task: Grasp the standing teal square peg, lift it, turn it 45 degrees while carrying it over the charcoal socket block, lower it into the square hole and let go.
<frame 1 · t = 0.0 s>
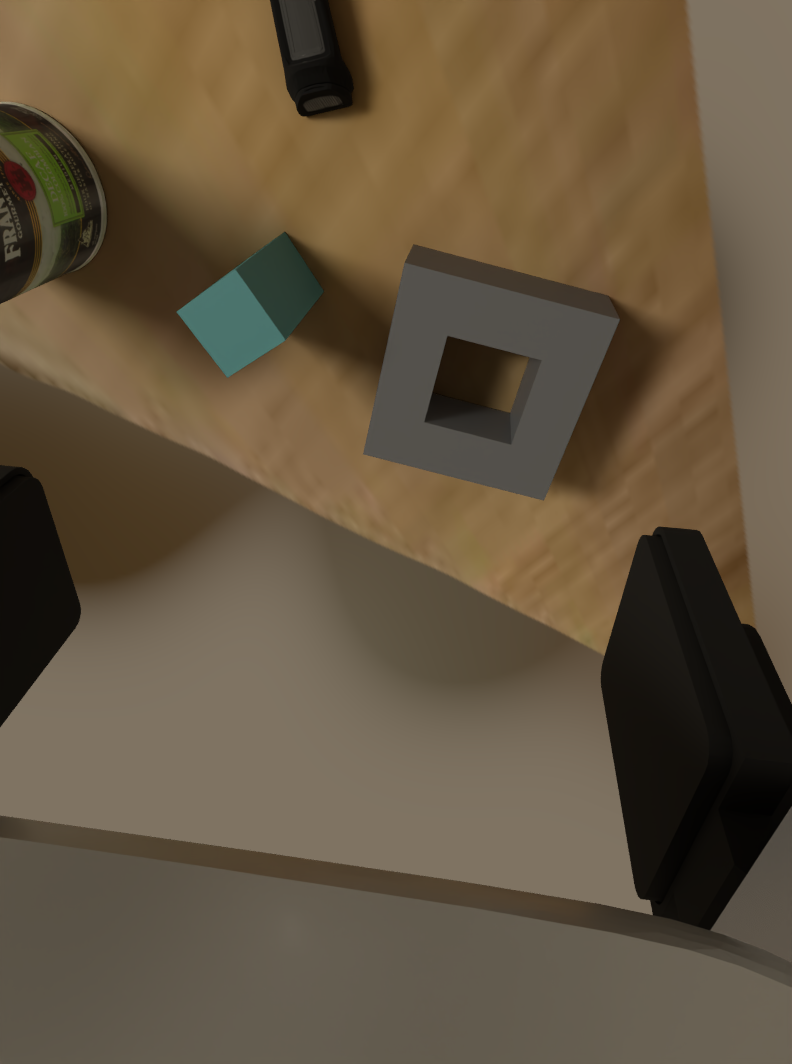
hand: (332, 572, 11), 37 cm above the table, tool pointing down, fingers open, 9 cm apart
peg: (279, 279, 45), on the table
socket: (482, 364, 47), on the table
coffee can: (33, 192, 44), on the table
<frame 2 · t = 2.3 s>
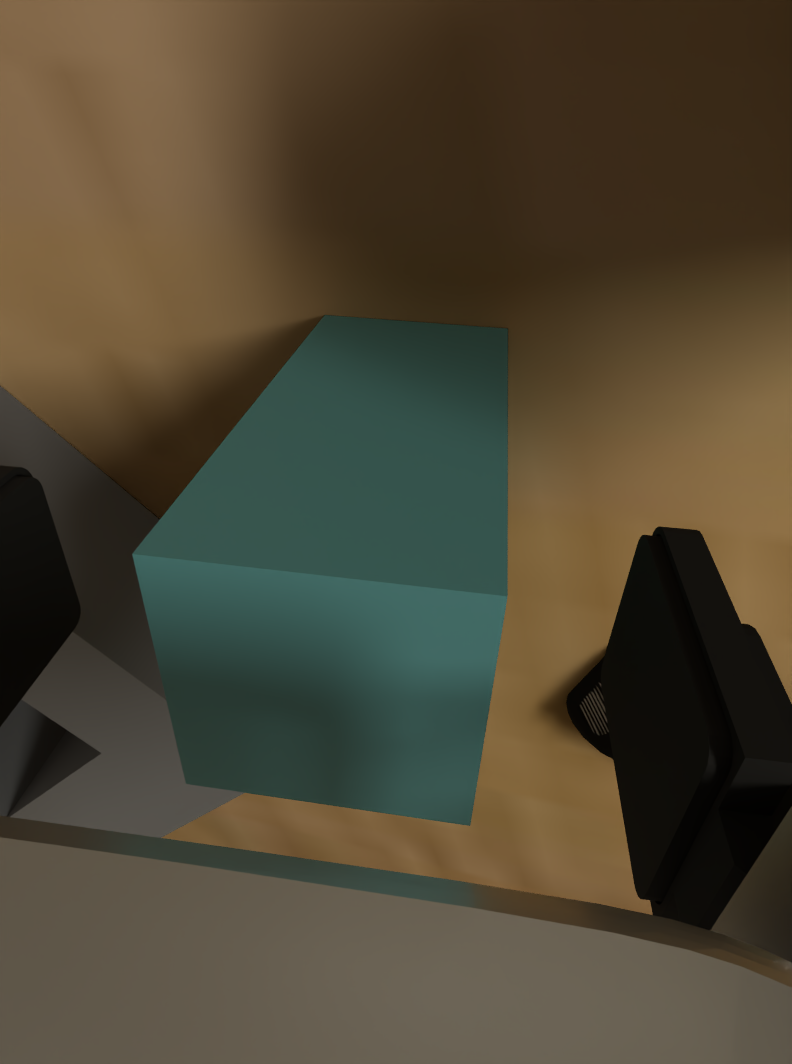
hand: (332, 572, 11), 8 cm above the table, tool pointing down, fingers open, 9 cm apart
peg: (410, 407, 17), on the table
socket: (58, 618, 23), on the table
electric trimmer: (781, 742, 22), on the table
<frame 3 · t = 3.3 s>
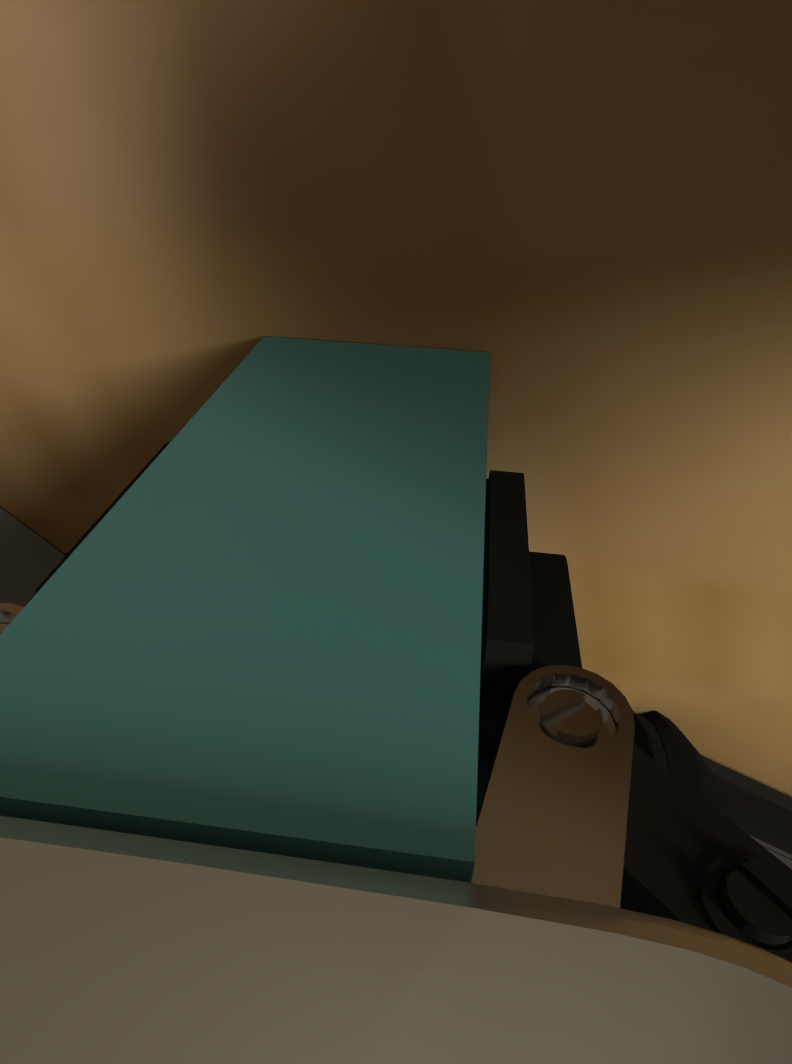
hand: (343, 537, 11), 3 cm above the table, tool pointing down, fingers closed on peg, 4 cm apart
peg: (374, 446, 14), on the table, touching gripper
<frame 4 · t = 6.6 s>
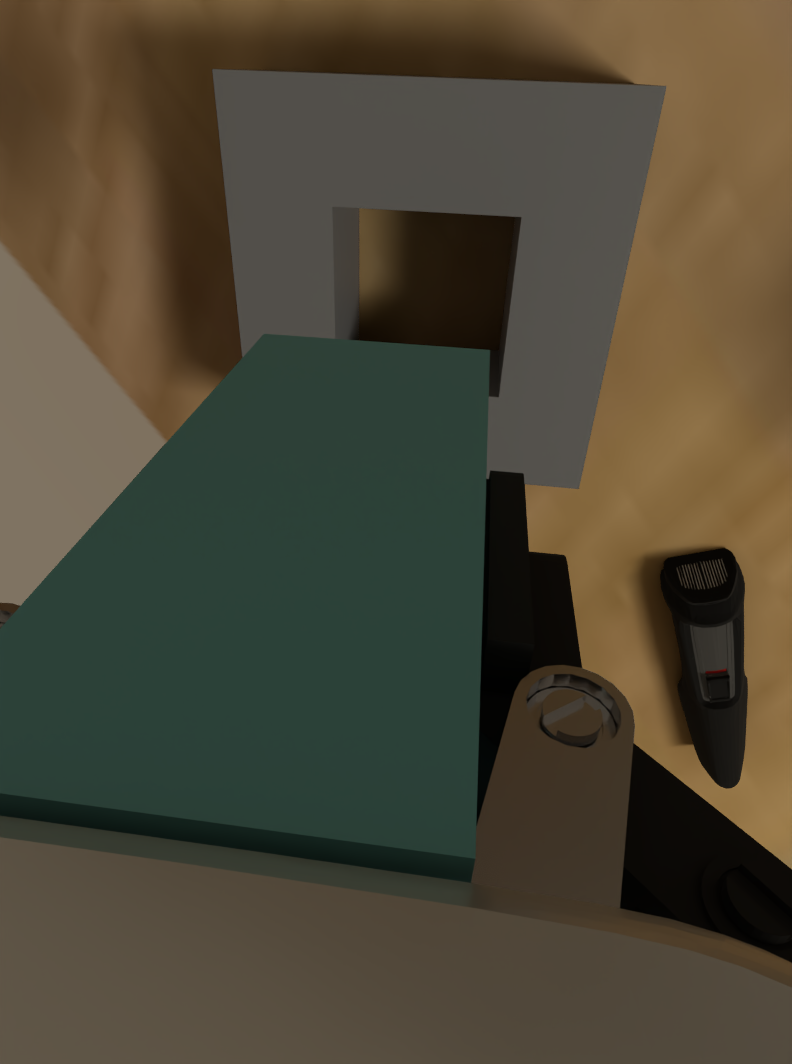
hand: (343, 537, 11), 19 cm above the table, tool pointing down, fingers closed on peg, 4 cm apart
peg: (374, 444, 14), point 15 cm above the table, touching gripper
socket: (432, 272, 27), on the table
electric trimmer: (708, 652, 37), on the table
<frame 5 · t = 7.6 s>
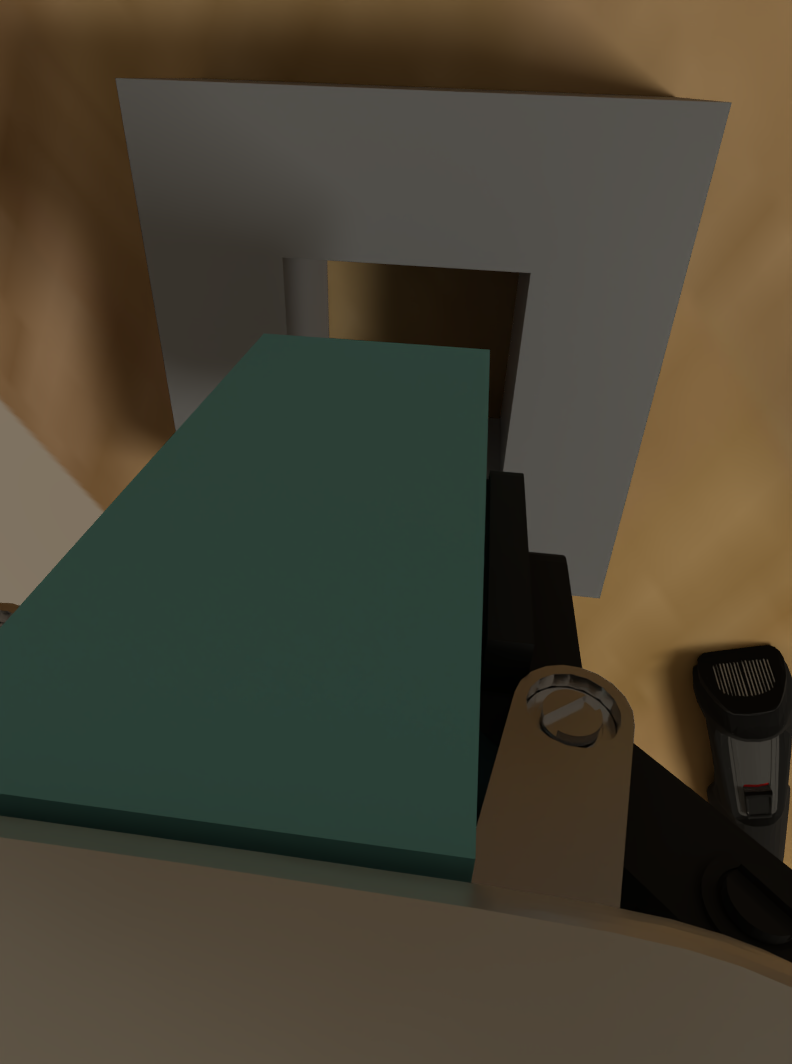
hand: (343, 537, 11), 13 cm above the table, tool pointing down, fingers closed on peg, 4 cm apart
peg: (374, 443, 14), point 9 cm above the table, touching gripper
socket: (418, 326, 22), on the table
electric trimmer: (743, 753, 32), on the table
when the fingers open (6 cm above the table, at t = 9.7 s): peg drops 3 cm, resting in socket.
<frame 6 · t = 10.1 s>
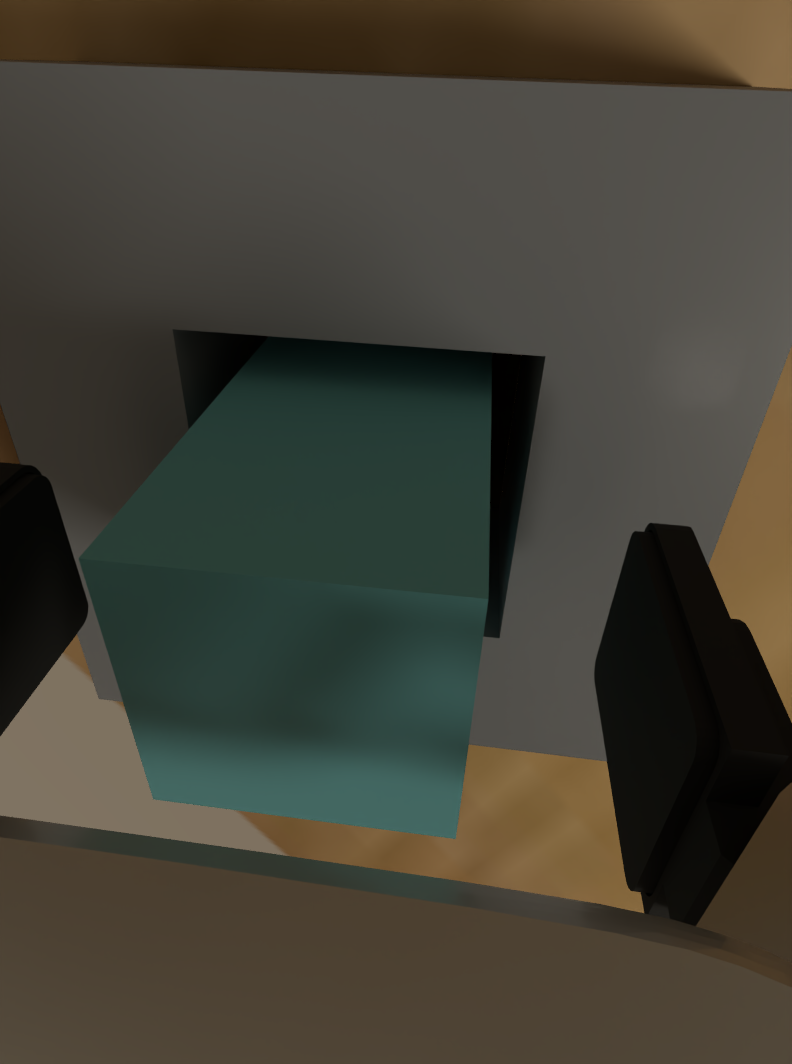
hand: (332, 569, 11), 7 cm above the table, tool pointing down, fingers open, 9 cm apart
peg: (393, 395, 16), resting in socket
socket: (390, 394, 16), on the table
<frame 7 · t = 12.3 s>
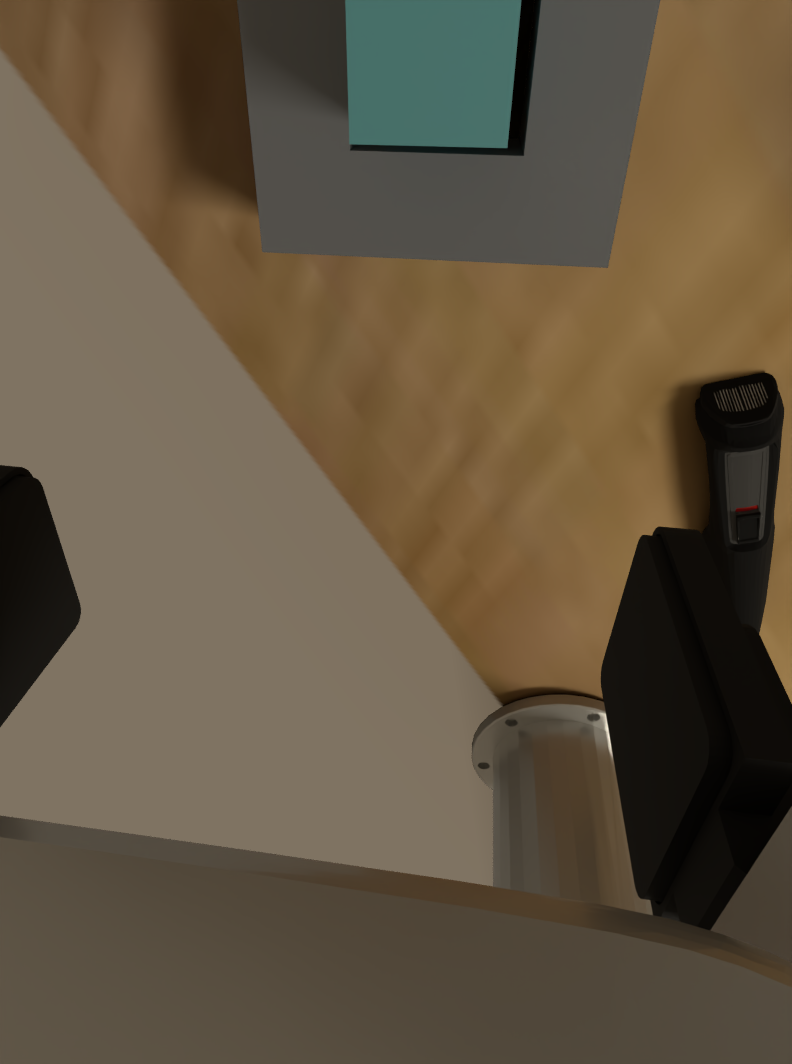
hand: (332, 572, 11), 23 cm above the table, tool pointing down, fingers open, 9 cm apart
peg: (450, 45, 25), resting in socket
socket: (448, 44, 25), on the table
electric trimmer: (735, 500, 36), on the table
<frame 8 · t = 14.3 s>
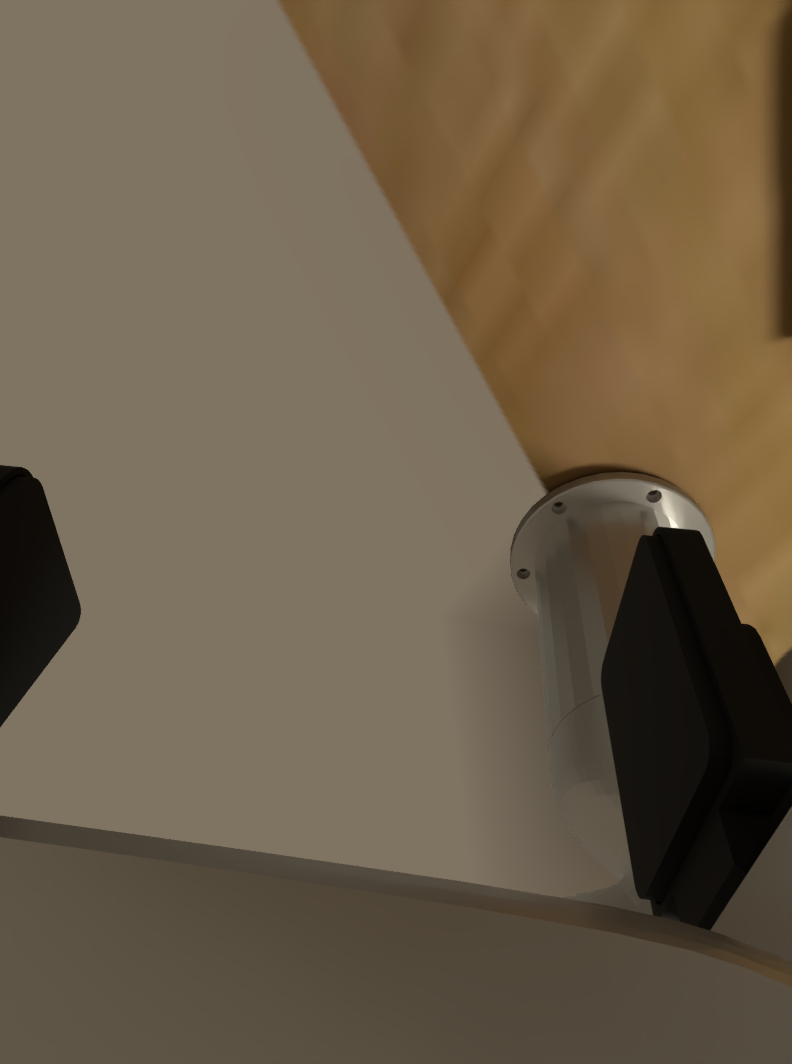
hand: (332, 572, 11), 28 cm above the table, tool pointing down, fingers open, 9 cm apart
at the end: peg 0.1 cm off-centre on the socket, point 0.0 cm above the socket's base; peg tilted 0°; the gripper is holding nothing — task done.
